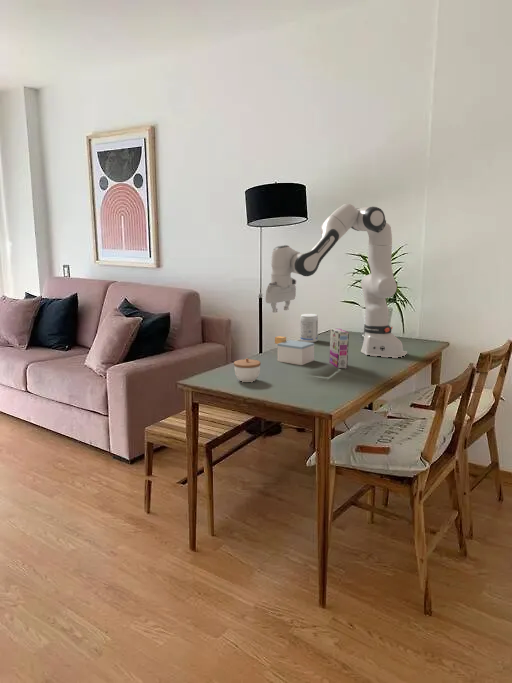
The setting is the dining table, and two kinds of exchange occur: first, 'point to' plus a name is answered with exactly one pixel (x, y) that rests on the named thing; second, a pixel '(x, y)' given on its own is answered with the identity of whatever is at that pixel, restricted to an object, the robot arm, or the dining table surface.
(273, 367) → the dining table surface
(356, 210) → the robot arm
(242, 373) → the lidded jar
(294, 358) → the tub
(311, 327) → the supplement tub
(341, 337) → the candy bar box
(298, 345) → the lid
